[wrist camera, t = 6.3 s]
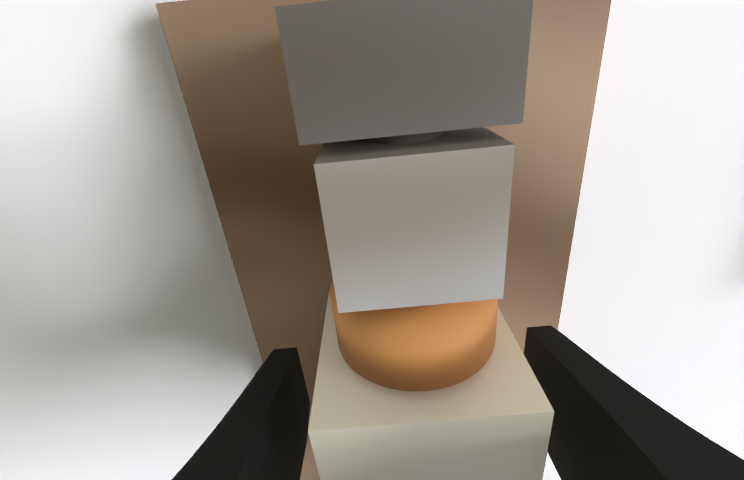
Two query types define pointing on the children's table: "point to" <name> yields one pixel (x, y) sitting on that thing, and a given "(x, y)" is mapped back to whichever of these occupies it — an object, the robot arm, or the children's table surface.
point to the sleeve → (430, 421)
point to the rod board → (288, 178)
